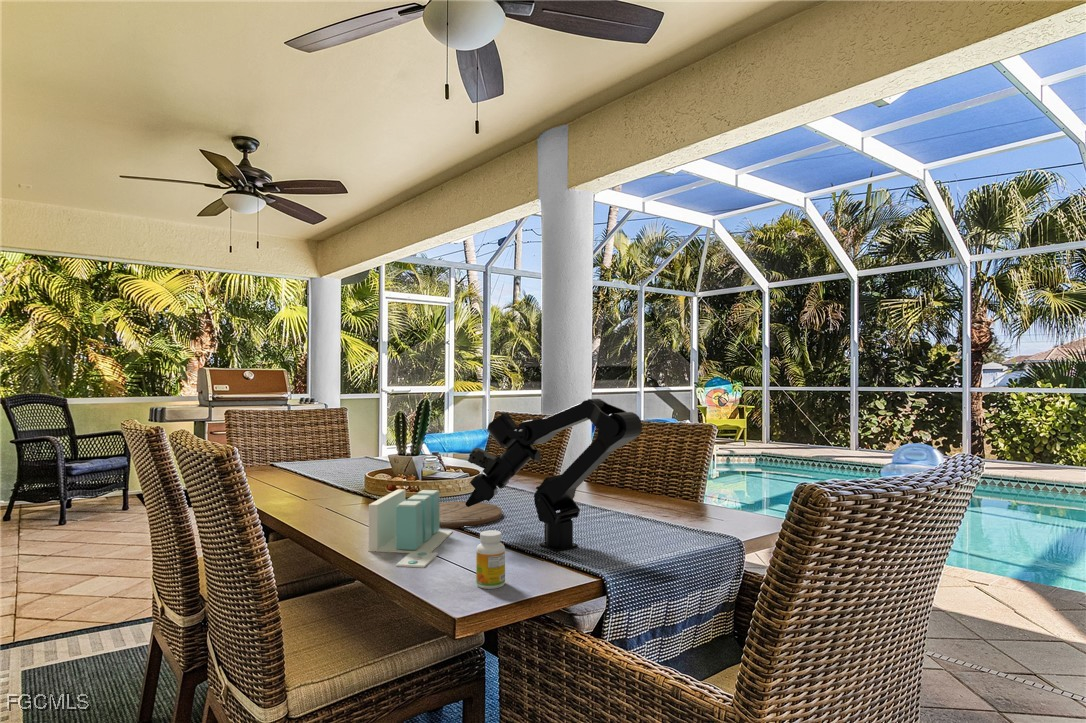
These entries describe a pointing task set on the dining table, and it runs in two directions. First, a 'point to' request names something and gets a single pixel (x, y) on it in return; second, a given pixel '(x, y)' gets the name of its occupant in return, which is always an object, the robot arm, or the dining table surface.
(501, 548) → the supplement bottle
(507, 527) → the dining table surface
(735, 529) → the dining table surface
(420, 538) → the teal tall block
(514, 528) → the dining table surface
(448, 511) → the trivet
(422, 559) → the card
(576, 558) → the dining table surface
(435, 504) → the teal rectangular block
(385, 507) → the l-shaped bookend
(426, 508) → the teal upright block
